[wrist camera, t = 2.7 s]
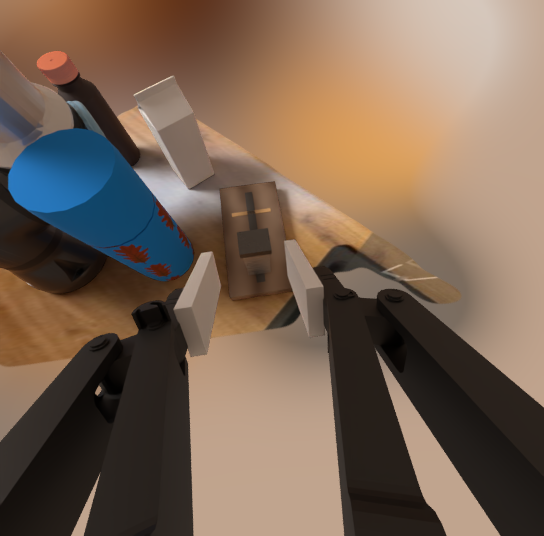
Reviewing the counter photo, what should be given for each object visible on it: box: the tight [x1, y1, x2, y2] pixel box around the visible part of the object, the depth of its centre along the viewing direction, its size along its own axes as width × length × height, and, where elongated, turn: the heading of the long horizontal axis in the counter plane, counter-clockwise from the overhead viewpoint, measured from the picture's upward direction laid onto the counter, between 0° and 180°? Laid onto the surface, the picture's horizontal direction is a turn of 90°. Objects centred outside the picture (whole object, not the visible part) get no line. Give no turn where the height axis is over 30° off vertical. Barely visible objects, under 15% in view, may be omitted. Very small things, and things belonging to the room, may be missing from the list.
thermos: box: [8, 128, 194, 281], centre depth 35 cm, size 11×11×25 cm
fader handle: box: [237, 228, 272, 275], centre depth 38 cm, size 5×4×10 cm
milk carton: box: [134, 76, 214, 189], centre depth 45 cm, size 7×7×19 cm
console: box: [220, 181, 293, 300], centre depth 47 cm, size 12×24×3 cm, turn 9°
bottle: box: [37, 51, 140, 166], centre depth 47 cm, size 7×7×20 cm
